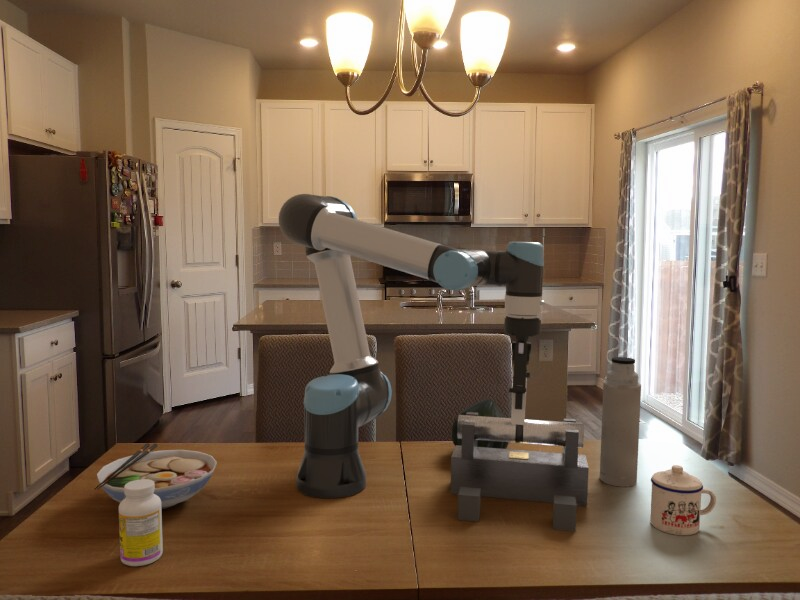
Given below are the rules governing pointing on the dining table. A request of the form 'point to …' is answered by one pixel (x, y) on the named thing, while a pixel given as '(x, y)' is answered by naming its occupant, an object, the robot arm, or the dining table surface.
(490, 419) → the tube
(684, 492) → the teacup with lid
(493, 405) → the squash
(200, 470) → the ramen bowl
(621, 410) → the thermos bottle
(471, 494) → the posts
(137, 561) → the supplement bottle
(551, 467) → the grey cradle stand
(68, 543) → the dining table surface
